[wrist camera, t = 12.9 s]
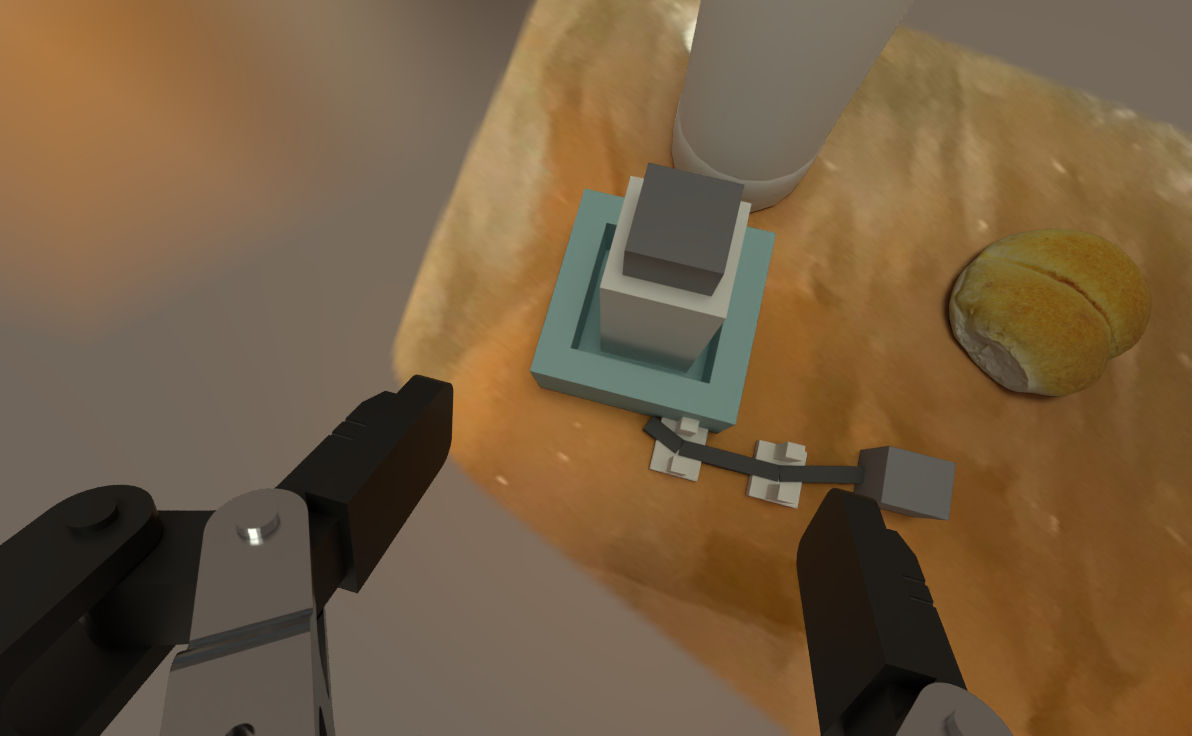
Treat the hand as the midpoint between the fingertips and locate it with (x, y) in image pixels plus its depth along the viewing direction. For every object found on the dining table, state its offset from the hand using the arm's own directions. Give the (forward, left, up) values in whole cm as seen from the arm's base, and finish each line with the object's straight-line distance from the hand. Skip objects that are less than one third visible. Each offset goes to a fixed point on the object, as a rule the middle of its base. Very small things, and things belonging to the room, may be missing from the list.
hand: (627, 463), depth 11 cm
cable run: (-8, -2, -16) cm, 18 cm away
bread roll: (-19, -14, -17) cm, 29 cm away
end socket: (0, -8, -16) cm, 18 cm away
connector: (0, -8, -15) cm, 17 cm away
